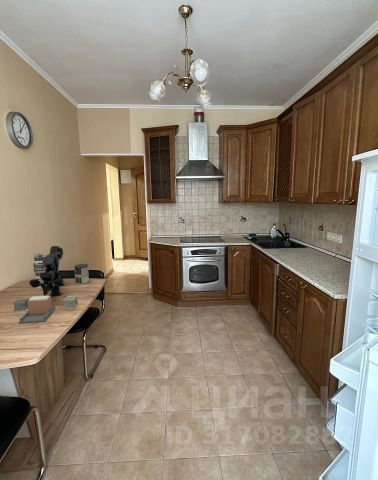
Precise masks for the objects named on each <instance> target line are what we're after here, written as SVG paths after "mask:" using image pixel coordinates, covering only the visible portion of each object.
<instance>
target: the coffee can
mask: <svg viewBox="0 0 378 480" xmlns="http://www.w3.org/2000/svg"><path fill="white" fill-rule="evenodd" d="M73 267H74V280H75V281H74V282H75V284H76V283H77V284H76V285H83V284H82V283H86V282H88V281H89V282H90V278H89V264H88V263H87V264H86V263H79V264H78V263H77V264H75V265H74V266H73ZM89 282H88V283H89ZM86 284H87V283H86Z"/></svg>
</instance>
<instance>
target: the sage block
mask: <svg viewBox="0 0 378 480" xmlns="http://www.w3.org/2000/svg"><path fill="white" fill-rule="evenodd" d="M78 301H79V300H78V295H68V296H67V295H66V297H65V298H64V299H63V302H64V308H75V307H76V306H77V305H78Z"/></svg>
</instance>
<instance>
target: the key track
mask: <svg viewBox="0 0 378 480" xmlns="http://www.w3.org/2000/svg"><path fill="white" fill-rule="evenodd" d="M55 311H56V308H55V306H51V309H50V310H49V311H48V312H47V314H34V315H28V310H26V312H25V313H24V314H23V315H22V316H21V317H20V318H19V321H18V324H19V325H21V324H38V323H46V322H47V321H48V320H49V318H50V317H51V316H52V314H53V313H54V312H55Z"/></svg>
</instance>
